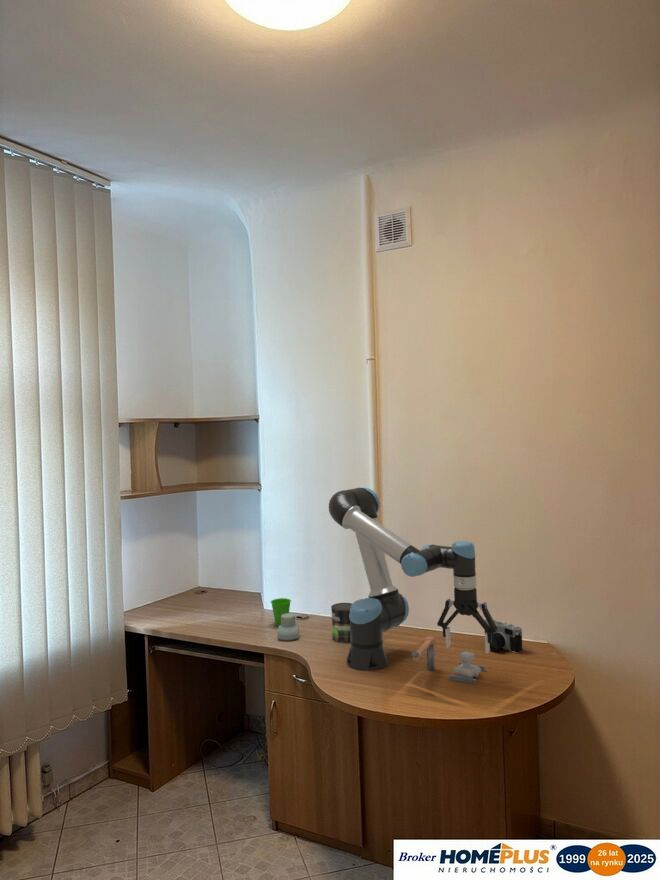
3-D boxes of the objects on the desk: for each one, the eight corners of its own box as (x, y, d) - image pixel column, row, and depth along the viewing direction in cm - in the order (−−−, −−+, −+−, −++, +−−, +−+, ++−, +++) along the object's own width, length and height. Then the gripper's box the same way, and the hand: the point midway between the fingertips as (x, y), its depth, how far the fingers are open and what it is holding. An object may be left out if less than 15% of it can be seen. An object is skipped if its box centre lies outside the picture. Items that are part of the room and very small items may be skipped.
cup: (294, 627, 265) (293, 602, 265) (274, 630, 262) (273, 605, 262) (288, 621, 273) (287, 597, 273) (269, 624, 270) (268, 599, 270)
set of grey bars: (418, 677, 209) (417, 649, 209) (430, 663, 220) (429, 637, 220) (475, 687, 200) (474, 658, 199) (485, 672, 211) (484, 645, 210)
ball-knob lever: (426, 640, 216) (426, 633, 216) (436, 641, 214) (436, 634, 214) (409, 661, 197) (408, 653, 197) (419, 662, 196) (419, 655, 196)
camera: (472, 645, 237) (471, 620, 237) (489, 639, 243) (488, 615, 242) (508, 659, 222) (507, 632, 222) (525, 652, 228) (525, 626, 228)
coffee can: (339, 646, 240) (338, 611, 240) (327, 639, 249) (326, 605, 249) (362, 641, 245) (361, 607, 244) (349, 634, 254) (348, 601, 253)
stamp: (484, 678, 206) (483, 654, 206) (472, 684, 202) (472, 659, 202) (462, 671, 213) (461, 647, 213) (450, 677, 208) (450, 652, 208)
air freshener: (298, 643, 245) (297, 619, 245) (277, 644, 245) (277, 619, 245) (299, 634, 256) (298, 610, 256) (279, 635, 256) (278, 611, 256)
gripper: (426, 587, 209) (429, 648, 209) (499, 593, 197) (502, 658, 197) (433, 581, 216) (436, 641, 216) (504, 587, 204) (507, 650, 204)
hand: (467, 649), depth 207 cm, fingers open, 13 cm apart
